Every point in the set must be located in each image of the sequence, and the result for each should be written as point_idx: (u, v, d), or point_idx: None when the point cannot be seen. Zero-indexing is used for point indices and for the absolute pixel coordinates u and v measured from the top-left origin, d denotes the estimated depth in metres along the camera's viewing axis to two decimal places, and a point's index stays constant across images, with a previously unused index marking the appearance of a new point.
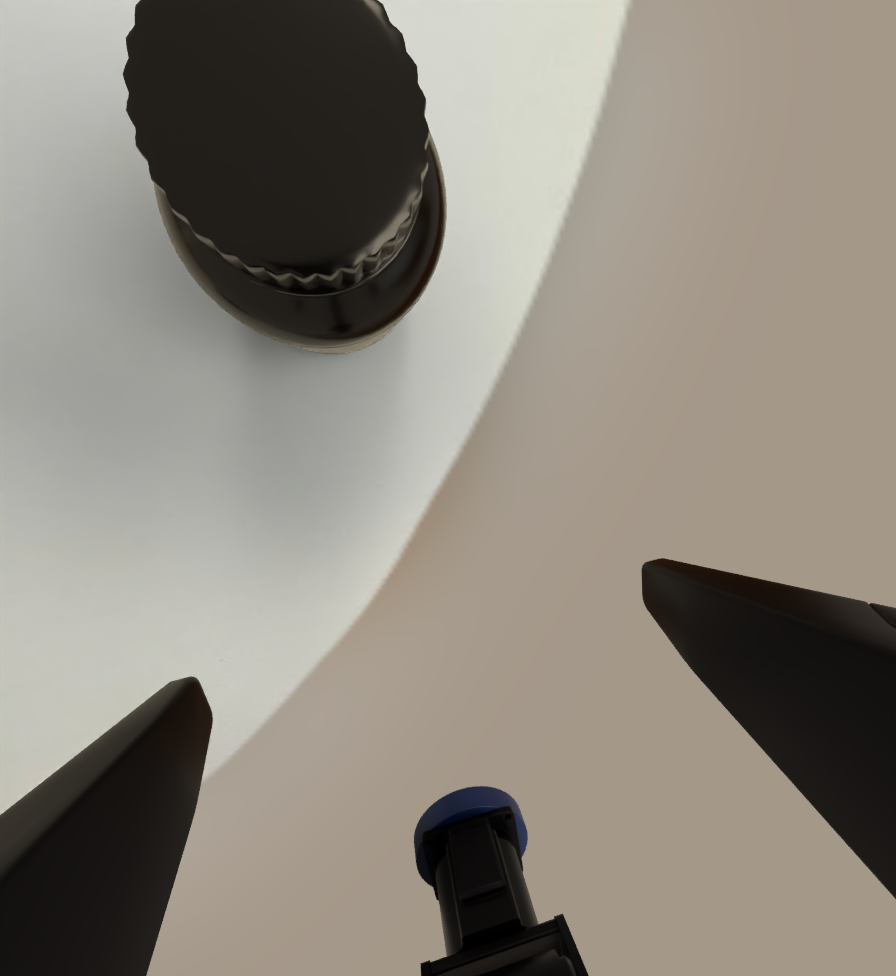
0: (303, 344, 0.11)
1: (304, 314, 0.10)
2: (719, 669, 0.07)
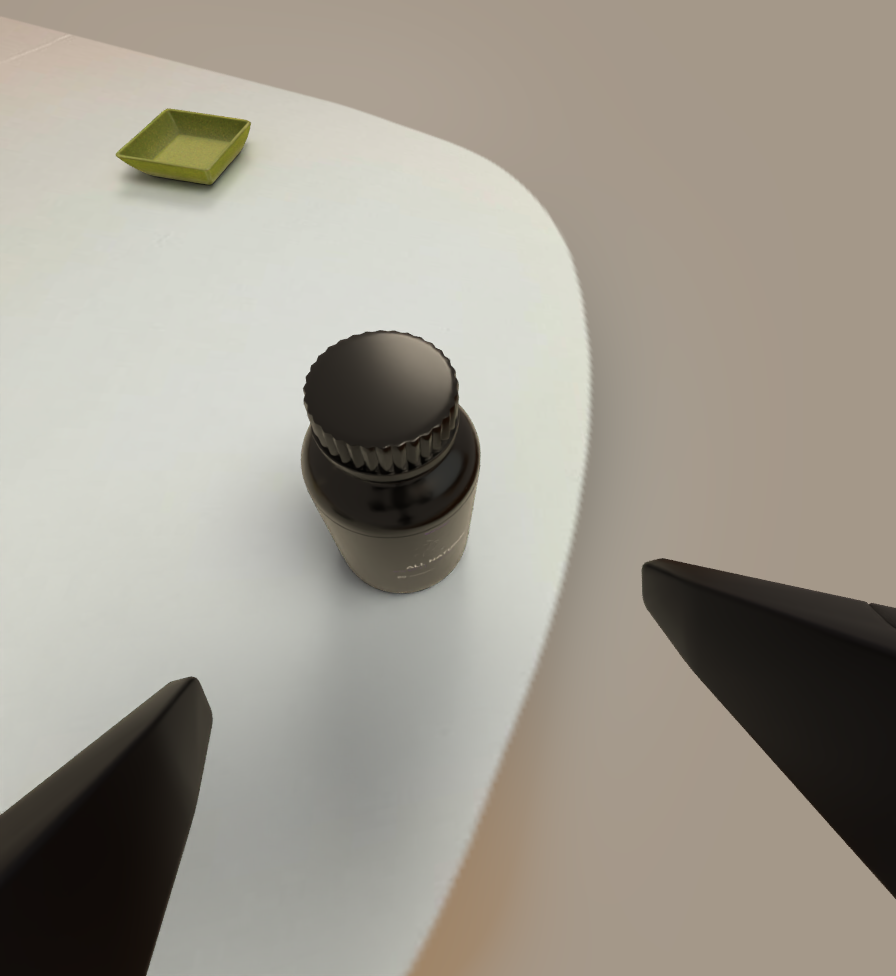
0: (379, 531, 0.15)
1: (381, 502, 0.15)
2: (719, 669, 0.07)
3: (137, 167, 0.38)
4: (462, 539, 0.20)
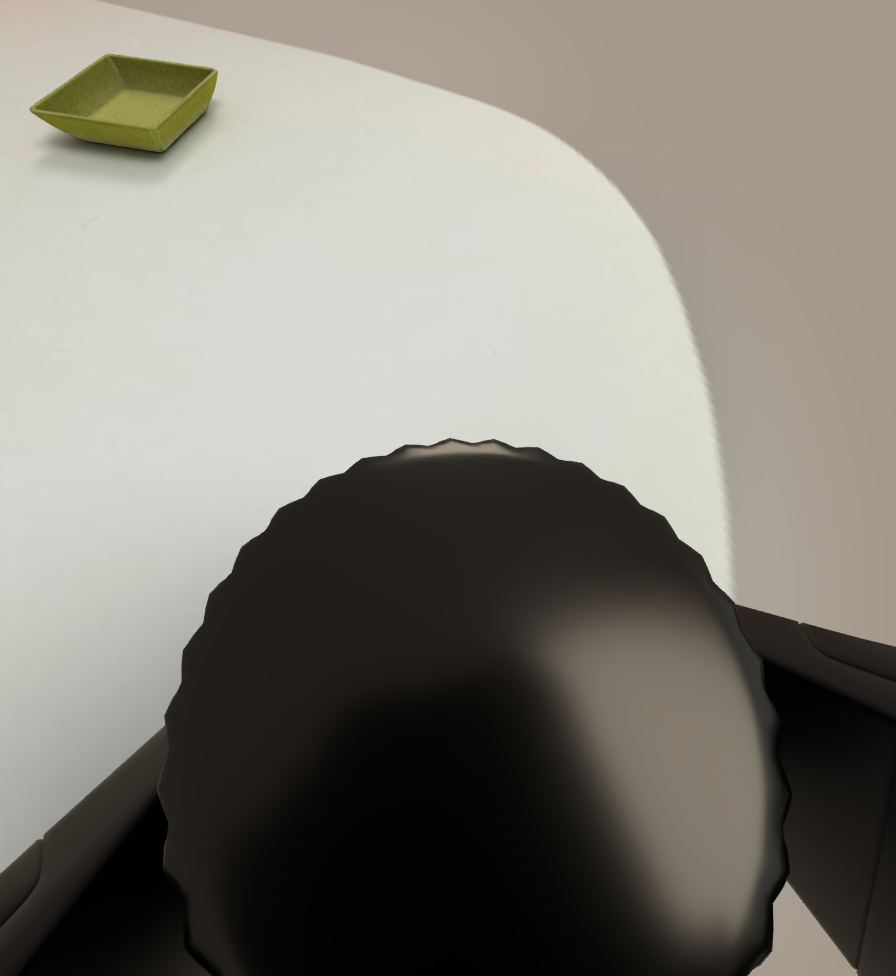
0: None
1: None
2: None
3: (61, 127, 0.28)
4: None
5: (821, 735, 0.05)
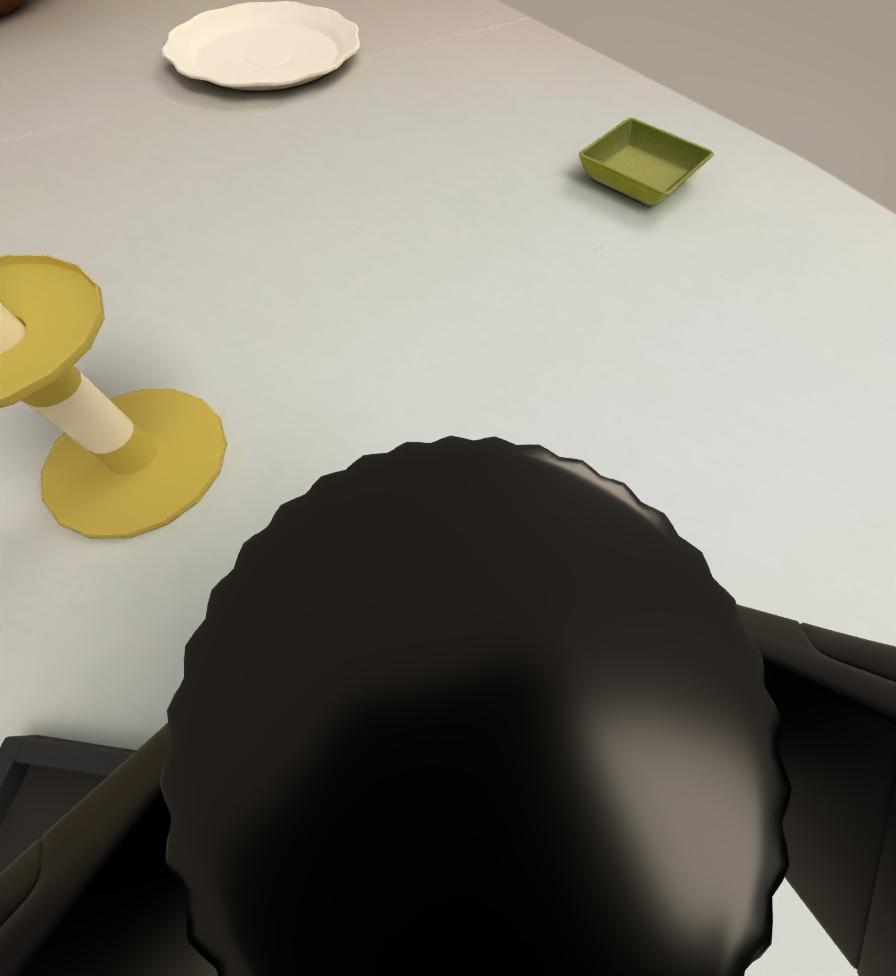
0: None
1: None
2: None
3: (589, 169, 0.38)
4: None
5: (822, 734, 0.05)
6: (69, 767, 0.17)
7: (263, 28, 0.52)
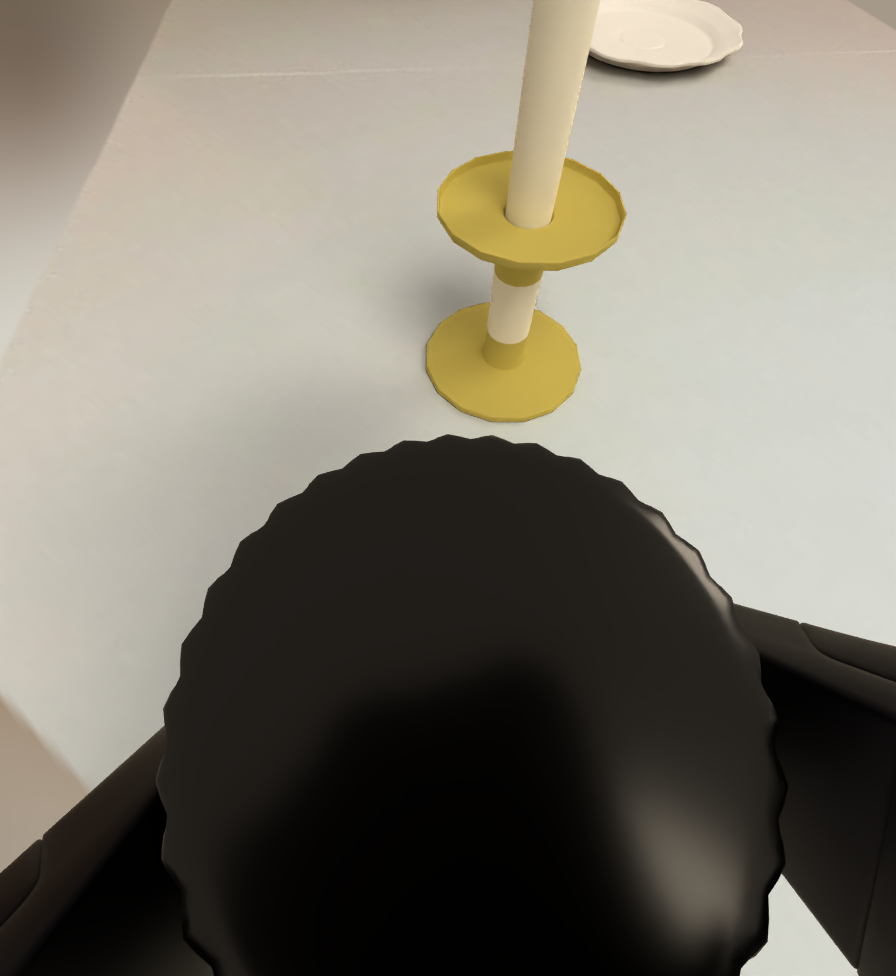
0: None
1: None
2: None
3: None
4: None
5: (822, 734, 0.05)
6: None
7: (639, 13, 0.54)
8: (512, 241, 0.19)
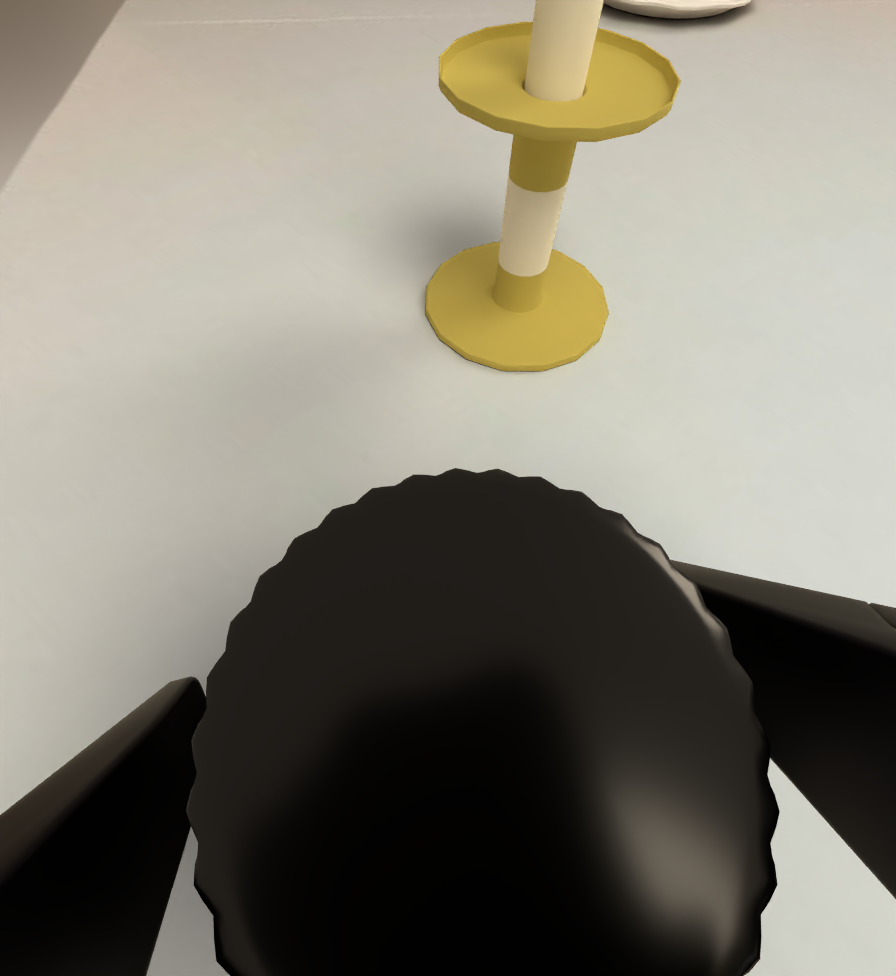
0: None
1: None
2: None
3: None
4: None
5: None
6: None
7: None
8: (535, 113, 0.15)
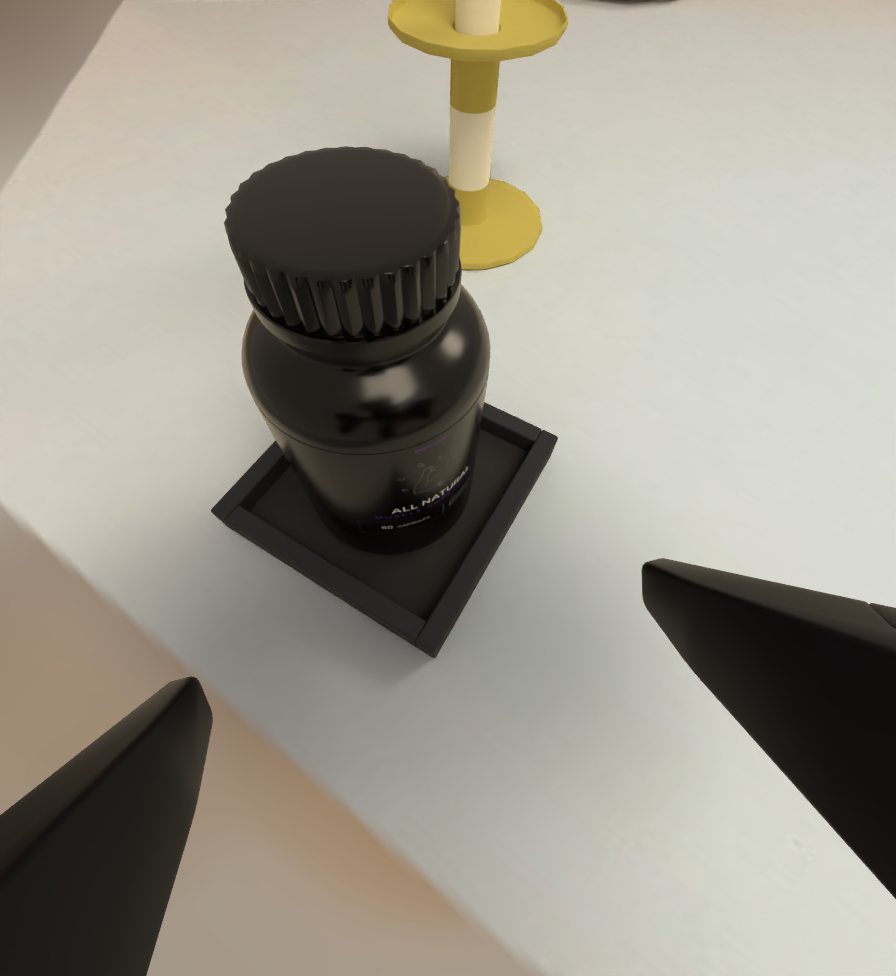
0: (348, 442, 0.11)
1: (350, 396, 0.10)
2: (719, 669, 0.07)
3: None
4: (465, 479, 0.15)
5: None
6: None
7: None
8: (459, 43, 0.20)
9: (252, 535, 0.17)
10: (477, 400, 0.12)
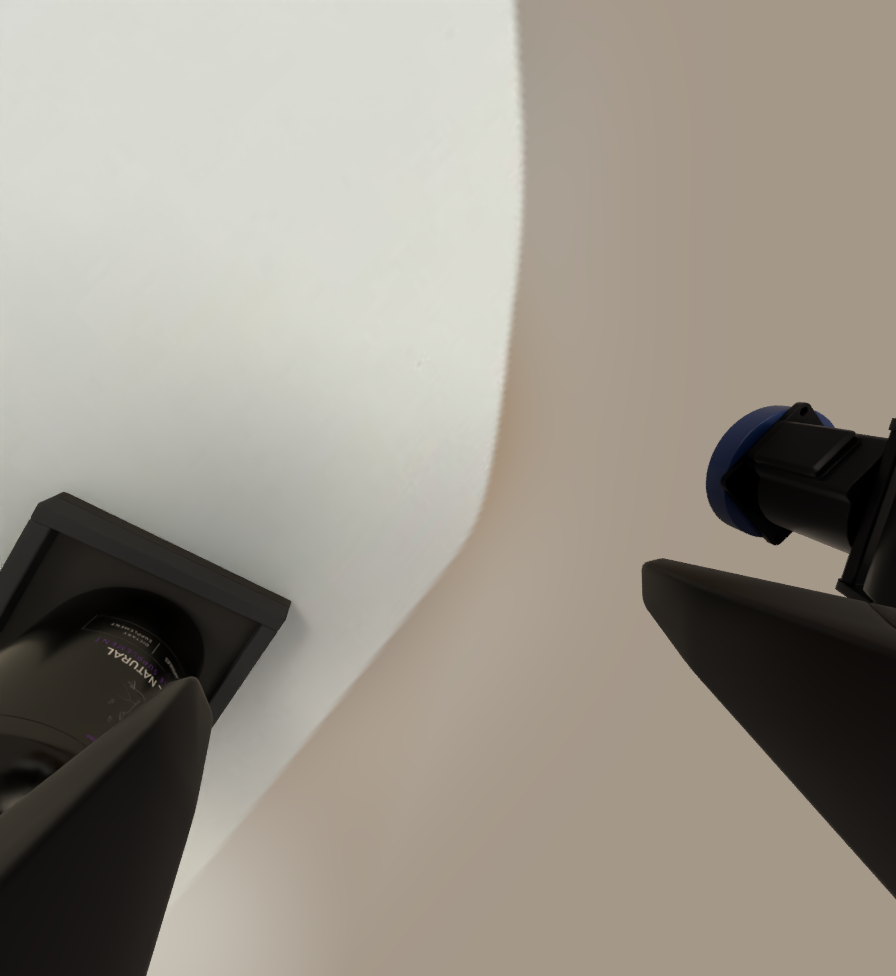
0: None
1: None
2: (719, 669, 0.07)
3: None
4: (121, 638, 0.16)
5: None
6: None
7: None
8: None
9: None
10: (38, 720, 0.13)
